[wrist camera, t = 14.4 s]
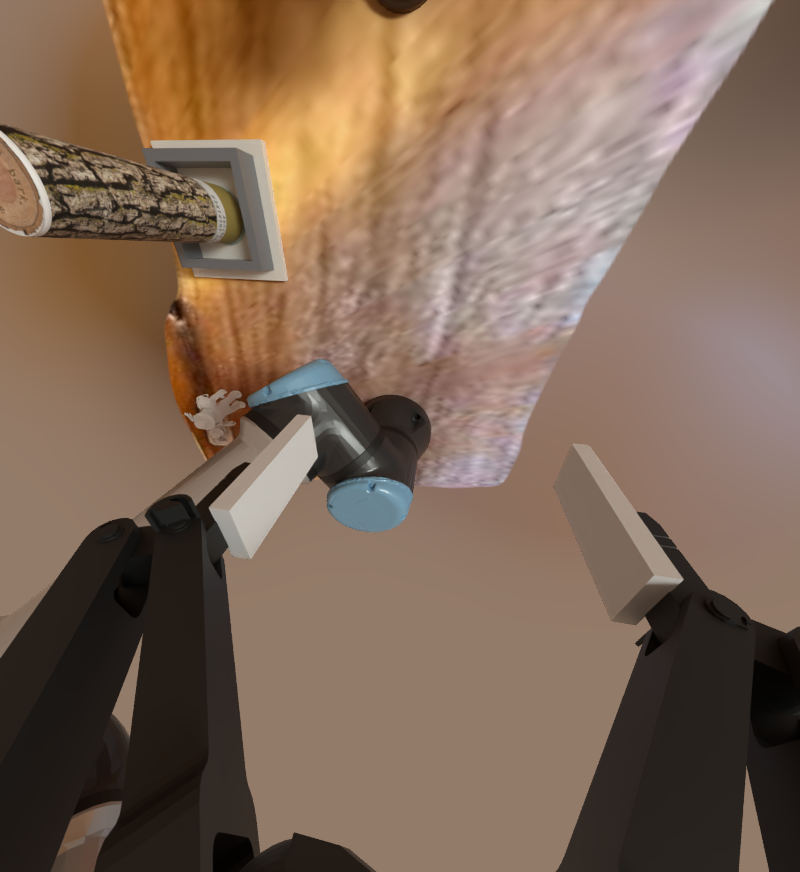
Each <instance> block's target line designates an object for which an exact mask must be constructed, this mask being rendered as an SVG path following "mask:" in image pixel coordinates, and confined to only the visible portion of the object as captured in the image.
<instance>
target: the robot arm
mask: <svg viewBox="0 0 800 872" xmlns="http://www.w3.org/2000/svg"><path fill="white" fill-rule="evenodd" d="M247 402H248V406H249V407H250V408H251V407H252V408H253V409H252V410H251V411H249V412H248V413H247V414H245V415H244V416H243V417H241V420H240V433H239V435H238V437H237V438H236V439H234V440H233V441H232V442H231V443H229V444H228V445H227V446H226V447H224V448H223V449H222V450H220V451H219V452H218V453H217V454H215V455H214V456H213V457H211V458H210V459H209V460H208V461H206V462H205V463H204V464H203V465H201V466H200V467H199V468H197V469H196V470H195V471H194V472H193V473H191V474H190V475H189V476H187V477H186V478H185V479H183V480H182V481H181V482H180V483H178V484H177V485H176V486H175V487H173V488H172V489H171V490H170V491H168V492H167V493H166V494H164V495H163V496H162V497H160V498H159V499H158V500H157V501H155V502H154V503H153V504H152V505H150V506H149V507H148V508H146V509H145V510H144V511H143V512H141V513H140V514H139V515H137V516H136V517H135V518H134V519H129V518H120V519H116V520H112V521H109V522H107V523H105V524H103V525H101V526H99V527H97V528H96V529H95V530H93V531H92V532H91V533H90V534H89V535H88V536H87V537H86V538H85V540H84V541H83V542H82V543H81V545H80V546H79V548H78V549H77V551H76V552H75V554H74V555H73V556H72V558H71V559H70V560H69V562H68V564H67V565H66V566H65V568H64V569H63V570H62V572H61V573H60V575H59V576H58V578H57V579H56V580H54V581H53V582H52V583H51V584H50V585H48V586H47V587H46V588H44V589H43V590H42V591H40V592H39V593H38V594H37V595H35V596H34V597H33V598H31V599H30V600H29V601H28V602H27V603H25V604H24V605H23V606H21V607H20V608H19V609H17V610H16V611H15V612H14V613H13V614H11V615H8V616H1V617H0V872H376V871H375V870H374V869H372V868H371V867H370V866H369V865H367V864H366V863H365V862H364V861H363V860H362V859H360V858H359V857H358V856H357V855H356V854H354V853H353V852H352V851H351V850H350V849H348V848H345V847H342V846H340V845H336V844H333V843H329V842H325V841H322V840H319V839H315V838H312V837H308V836H305V835H301V834H298V833H294V834H293V838H292V839H289V840H285V841H282V842H280V843H278V844H275V845H273V846H271V847H269V848H268V849H266V850H265V851H263V852H261V853H260V848H259V841H258V830H257V822H256V814H255V808H254V804H253V799H252V795H251V792H250V790H249V787H248V783H247V778H246V771H245V761H244V751H243V741H242V731H241V721H240V712H239V702H238V692H237V683H236V672H235V662H234V653H233V643H232V633H231V623H230V613H229V603H228V593H227V584H226V574H225V564H224V559H223V557H222V554H223V553H224V552H225V551H226V549H227V548H229V550H230V552H231V554H232V556H234V557H240V558H246V559H251V558H252V557H253V555H254V553H255V552H256V551H257V549H258V547H259V546H260V544H261V543H262V541H263V540H264V538H265V537H266V535H267V534H268V532H269V531H270V529H271V528H272V526H273V525H274V523H275V521H276V520H277V518H278V517H279V515H280V514H281V512H282V511H283V509H284V508H285V506H286V505H287V503H288V502H289V500H290V499H291V497H292V496H293V494H294V493H295V491H296V490H297V488H298V486H299V485H300V484H308V483H309V482H311V481H312V480H313V479H314V478H315V477H316V476H318V477H319V478H320V479H321V480H322V481H323V482H324V483H325V484H326V485H327V486H328V487H329V488H330V490H329V492H328V494H327V508H328V511H329V512H330V514H331V515H332V516H333V517H334V518H335V519H336V520H337V521H338V522H340V523H341V524H343V525H345V526H347V527H349V528H352V529H355V530H359V531H366V532H381V531H386V530H389V529H392V528H394V527H396V526H398V525H399V524H400V523H401V522H402V521H403V520H404V519H405V518H406V516H407V514H408V510H409V506H410V504H411V501H412V499H413V488H414V481H415V474H416V468H417V461H418V460H419V458H420V457H421V456H422V455H423V453H424V452H425V451H426V449H427V447H428V445H429V442H430V437H431V424H430V420H429V418H428V416H427V414H426V412H425V411H424V410H423V409H422V408H421V407H420V406H419V405H418V404H417V403H415V402H414V401H412V400H410V399H408V398H406V397H402V396H398V395H385V396H380V397H377V398H375V399H373V400H371V401H370V402H369V403H367V404H366V405H364V403H363V402H362V401H361V399H360V398H359V397H358V395H357V394H356V393H355V391H354V390H353V389H352V387H351V386H350V385H349V381H348V380H347V379H344V377H343V376H342V375H341V374H340V373H339V371H338V370H337V369H336V368H335V367H334V365H333V364H332V363H331V362H329V361H327V360H325V359H317V360H314V361H311V362H309V363H307V364H305V365H303V366H301V367H299V368H297V369H296V370H294V371H292V372H290V373H288V374H286V375H284V376H283V377H281V378H279V379H277V380H275V381H274V382H272V383H270V384H269V385H267V386H265V387H263V388H262V389H260V390H258V391H256V392H254V393H253V394H251V395H250V396H248V398H247ZM554 489H555V491H556V493H557V495H558V498H559V500H560V503H561V505H562V507H563V510H564V512H565V514H566V517H567V519H568V521H569V524H570V526H571V528H572V531H573V533H574V535H575V538H576V540H577V542H578V545H579V547H580V549H581V552H582V554H583V556H584V559H585V561H586V563H587V566H588V568H589V570H590V573H591V575H592V577H593V579H594V582H595V584H596V586H597V589H598V591H599V594H600V596H601V598H602V601H603V603H604V605H605V608H606V610H607V612H608V615H609V617H610V619H611V621H614V622H620V623H625V624H631V625H637V624H638V623H639V622H640V621H641V620H642V619H643V618H644V617H646V619H647V620H648V622H649V624H650V626H651V629H650V630H649V631H648V632H647V633H646V634H644V635H643V636H642V637H641V638H640V639H639V640H638V641H637V642H636V643H635V644H636V645H637V646H640V645H641V644H642V647H641V650H640V652H639V655H638V658H637V661H636V663H635V666H634V669H633V671H632V674H631V677H630V679H629V682H628V685H627V688H626V690H625V694H624V696H623V698H622V701H621V704H620V707H619V709H618V712H617V715H616V717H615V720H614V723H613V726H612V728H611V731H610V734H609V736H608V739H607V742H606V745H605V748H604V750H603V753H602V756H601V758H600V761H599V764H598V766H597V769H596V772H595V774H594V777H593V780H592V783H591V785H590V788H589V791H588V793H587V796H586V799H585V802H584V804H583V807H582V810H581V812H580V815H579V818H578V821H577V823H576V826H575V829H574V831H573V834H572V837H571V840H570V842H569V845H568V848H567V850H566V853H565V856H564V858H563V860H562V863H561V864H560V866H559V868H558V870H557V871H556V872H739V858H740V844H741V832H742V831H741V830H742V817H743V804H744V789H745V777H746V765H747V770H748V774H749V779H750V784H751V788H752V793H753V798H754V802H755V807H756V812H757V816H758V821H759V825H760V830H761V835H762V839H763V844H764V849H765V853H766V857H767V862H768V867H769V872H800V627H796V628H795V629H793V630H791V631H790V632H788V633H784V632H782V631H779V630H776V629H774V628H771V627H769V626H766V625H764V624H761V623H759V622H756V621H754V620H751V619H750V617H749V616H748V615H747V613H745V612H744V611H743V610H742V609H741V608H740V607H739V606H738V605H737V604H735V603H734V602H733V601H731V600H730V599H728V598H727V597H725V596H723V595H721V594H719V593H717V592H715V591H712V590H709V589H708V588H707V586H706V585H705V584H704V582H703V581H702V580H701V579H700V577H699V576H698V575H697V573H696V572H695V571H694V569H693V568H692V567H691V565H690V564H689V563H688V561H687V560H686V559H685V557H684V556H683V555H682V554H681V552H680V551H679V550H677V549H676V548H677V547H676V545H675V544H674V543H673V542H672V540H671V539H669V536H668V535H667V534H666V532H665V531H664V530H663V528H662V527H661V526H660V524H658V523H657V522H656V521H655V520H653V519H652V518H651V517H650V516H649V515H647V514H646V513H642V512H636V511H635V510H634V508H633V507H632V505H631V504H630V503H629V501H628V500H627V498H626V497H625V495H624V494H623V493H622V491H621V490H620V488H619V487H618V486H617V484H616V483H615V481H614V480H613V478H612V477H611V476H610V474H609V473H608V471H607V470H606V469H605V467H604V466H603V464H602V463H601V461H600V460H599V458H598V457H597V456H596V454H595V453H594V452H593V450H592V449H591V447H590V446H589V445H581V444H572V445H571V447H570V450H569V452H568V454H567V457H566V459H565V461H564V463H563V465H562V468H561V470H560V472H559V475H558V477H557V479H556V481H555V483H554ZM142 634H143V638H142V646H141V654H140V662H139V671H138V678H137V686H136V694H135V702H134V711H133V718H132V726H131V734H130V736H129V734H128V733H127V731H126V729H125V728H124V726H123V725H122V724H121V723H120V721H119V720H118V719H117V718H116V717H115V716H114V715H113V714H112V712H113V709H114V706H115V703H116V701H117V698H118V696H119V693H120V691H121V688H122V686H123V683H124V680H125V678H126V675H127V673H128V670H129V667H130V665H131V662H132V660H133V657H134V655H135V652H136V649H137V646H138V644H139V641H140V639H141V636H142Z"/></svg>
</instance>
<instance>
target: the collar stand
mask: <svg viewBox="0 0 800 872" xmlns="http://www.w3.org/2000/svg"><path fill="white" fill-rule="evenodd" d="M151 145H152V148H142V150H143V154H144V157H145V159H146V162H147V165H149V166H152V167H156V168H159V169H163V170H166V171H170V172H173V173H177V174H180V175H184V176H187V177H191V178H194V179H198V180H201V181H204V182H208V183H211V184H215V185H218V186H220V187H222V188H224V189H225V190H226V191H227V192H229V193H230V195H231V196H232V197H233V198H234V200H235V201H236V203H237V205H238V207H239V209H240V212H241V216H242V231H241V234H240V236H239V238H238V239H237V240H236V241H234V242H232V243H196V242H174V245H175V248H176V250H177V253H178V256H179V259H180V262H181V265H182V268H192V271H193V274H194V277H212V278H232V279H252V280H272V281H288V277H287V271H286V265H285V259H284V253H283V247H282V241H281V235H280V229H279V223H278V217H277V211H276V205H275V199H274V193H273V187H272V181H271V175H270V169H269V163H268V157H267V151H266V145H265V142H264V141H263V140H261V139H256V140H170V141H151Z"/></svg>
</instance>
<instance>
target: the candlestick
mask: <svg viewBox="0 0 800 872" xmlns="http://www.w3.org/2000/svg"><path fill="white" fill-rule="evenodd" d="M426 1H427V0H378V2H379V3H380V4H381V5H382V6H384V7H385V8H386V9H387V10H389V11H392V12H394V13H400V14H405V13H409V12H412V11H414V10H416V9H418V8H419V7H421V6H422V5H423V4H424V3H425V2H426Z"/></svg>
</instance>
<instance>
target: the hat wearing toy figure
mask: <svg viewBox="0 0 800 872" xmlns="http://www.w3.org/2000/svg"><path fill="white" fill-rule="evenodd" d="M225 393H227V391H226V390H223V389H220V390H218V392H216V393H215V394H214V395H212V396H211V397H210V398H208V394H204V395H207V397H204V396H203V395H201V396H198V397H197V398H196V403H197V406H198V407H199V408H200V407H201V408H203V409H202V412H200V413H198V414H196V415H194V416H193V417H194V418H193V417H192V415H191V414H190V413H189V415H188V413H187V414H186V413H184V414H185V416H187V417H188V418H189V419H190V420H191V421H192V422H193V421H194V425H195V426H196V427H197V428H198V429H206V430H210V431H209V434H210V435H211V436H212V437H211V436H210V435H209V436H210V437H211V438H214V439H216V438H218V437H220V436H223V435H225V434H224V433H223V431H222V430H221V428H219V427H220V426H234V425H236V422H233V421H226V422H223V419H224V417H225V416H226V415H229V414H231V413H233V412H235V411H237V410H238V409H240V408H245V407H246V404H245V403H244V402H243V401H238V400H236V401H235V402H233V401H234V400H235V399H236V398H241V397H242V394H241V392H239V391H237V390H235V391H231V392H230V393H229V394H228V397H226V398H225V397H224V396H223V395H224V394H225ZM219 398H224V399H223V400H220V402H219V403H218V404H216V400H218V399H219ZM198 399H199V400H198ZM232 402H233V404H232V406H229V404H230V403H232ZM201 408H200V409H201ZM189 416H190V417H189ZM222 428H223V427H222ZM223 429H224V430H225V433H226V428H223Z"/></svg>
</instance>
